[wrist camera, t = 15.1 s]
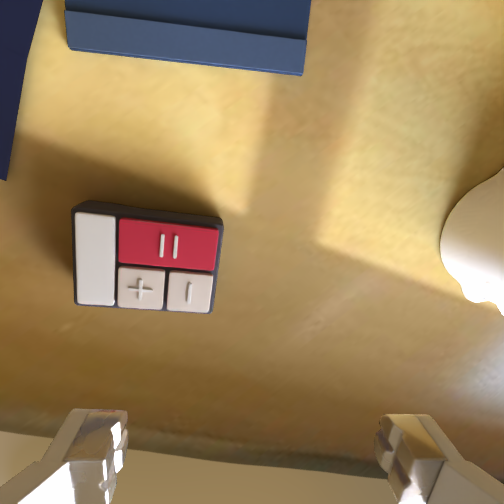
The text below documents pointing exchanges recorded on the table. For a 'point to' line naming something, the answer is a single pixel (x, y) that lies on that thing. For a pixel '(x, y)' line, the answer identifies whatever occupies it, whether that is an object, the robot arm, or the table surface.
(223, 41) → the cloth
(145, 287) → the button panel
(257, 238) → the table surface
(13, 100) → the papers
